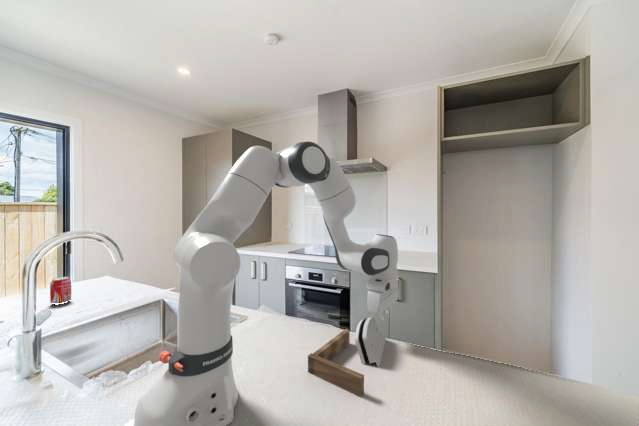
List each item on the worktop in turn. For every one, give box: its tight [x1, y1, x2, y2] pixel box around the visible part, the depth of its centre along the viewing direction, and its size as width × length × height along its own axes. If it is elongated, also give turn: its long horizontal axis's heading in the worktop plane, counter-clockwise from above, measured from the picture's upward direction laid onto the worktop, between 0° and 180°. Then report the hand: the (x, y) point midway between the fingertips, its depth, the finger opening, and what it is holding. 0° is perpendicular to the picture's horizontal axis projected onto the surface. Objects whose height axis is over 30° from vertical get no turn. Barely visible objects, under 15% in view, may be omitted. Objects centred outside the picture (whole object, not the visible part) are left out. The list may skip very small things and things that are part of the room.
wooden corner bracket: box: [307, 328, 365, 398], centre depth 73 cm, size 20×16×4 cm
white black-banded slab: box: [354, 317, 387, 368], centre depth 80 cm, size 17×5×10 cm, turn 159°
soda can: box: [49, 276, 72, 304], centre depth 121 cm, size 7×7×12 cm
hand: (384, 318), depth 90 cm, fingers closed
